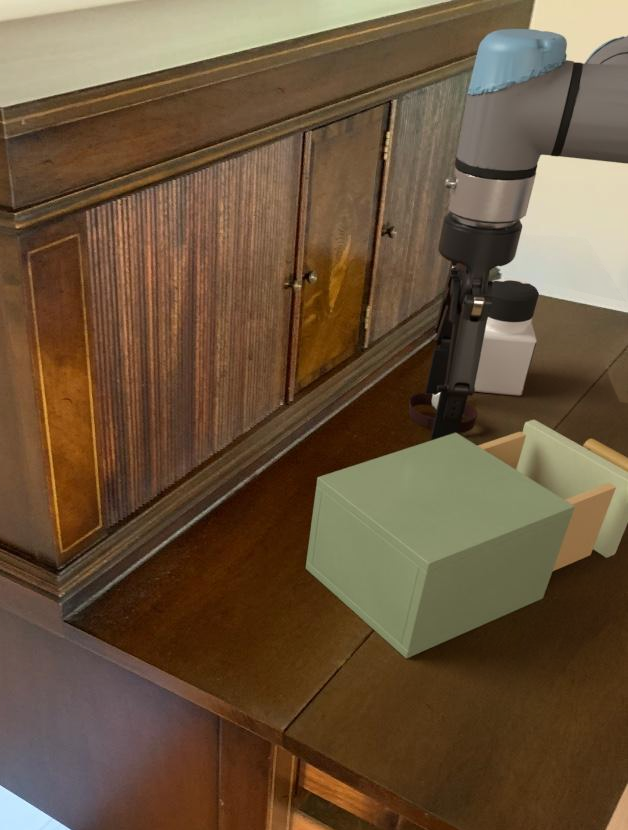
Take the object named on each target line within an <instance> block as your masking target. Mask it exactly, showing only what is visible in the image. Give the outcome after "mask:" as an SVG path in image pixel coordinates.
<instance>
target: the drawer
mask: <svg viewBox="0 0 628 830" xmlns="http://www.w3.org/2000/svg"><path fill="white" fill-rule="evenodd" d="M477 446H478V447H480V448H482V449H483V450H485V451H487V452H488V453H490V454H491V455H493V456H495V457H496V458H498V459H499V460H501V461H503V462H504V463H506V464H508V465H509V466H511V467H512V468H514V469H516V470H517V471H519V472H520V473H522V474H524V475H525V476H527V477H529V478H530V479H532V480H533V481H535V482H537V483H538V484H540V485H541V486H543V487H545V488H546V489H548V490H549V491H551V492H553V493H554V494H556V495H558V496H559V497H561V498H562V499H564V500H566V501H567V502H569V503H570V504H572V505H574V506H575V508H574V511H573V514H572V517H571V520H570V523H569V525H568V528H567V531H566V534H565V537H564V540H563V543H562V545H561V548H560V551H559V554H558V557H557V560H556V563H555V565H554V568H553V571H552V572H555V571H556V570H559V569H561V568H564V567H566V566H568V565H571V564H573V563H575V562H578V561H580V560H583V559H585V558H587V557H589V556H591V555H592V552H593V551H595V552H597V553H598V554H600V555H601V556H603V557H604V558H606V559H607V558H609V557H612V556H614V555H616V553H617V552H618V551H617V550H618V549H619V545H620V543H621V540H622V538H623V535H624V534H625V531H626V528H627V525H628V456H625V455H623V454H622V453H620V452H618V451H616V450H615V449H613V448H610V447H609V446H607V445H605V444H603V443H602V442H600V441H598V440H596V439H594V438H589V439H587V440H586V441H585V442H584V443H583V445H580V444H579V443H577V442H575V441H573V440H571V439H570V438H568V437H566V436H564V435H562V434H561V433H559V432H557V431H555V430H554V429H552V428H550V427H548V426H547V425H545V424H543V423H541V422H539V421H537V420H536V419H530V420H528V421H525V422H524V425H523V429H522V431H517V432H515V433H511V434H508V435H505V436H502V437H499V438H496V439H493V440H490V441H487V442H484V443H481V444H478V445H477Z"/></svg>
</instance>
